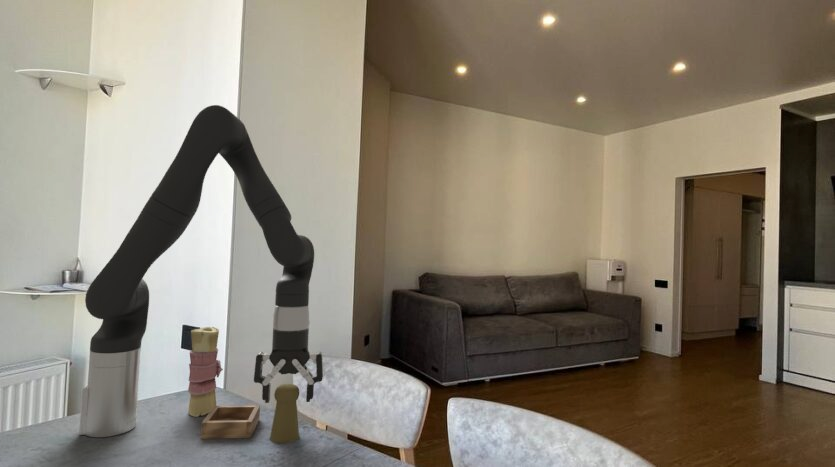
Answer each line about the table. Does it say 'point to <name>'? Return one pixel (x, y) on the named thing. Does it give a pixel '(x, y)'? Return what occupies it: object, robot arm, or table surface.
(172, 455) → the table surface
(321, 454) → the table surface
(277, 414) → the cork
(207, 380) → the scroll
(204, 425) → the wooden tray
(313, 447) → the table surface
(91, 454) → the table surface
